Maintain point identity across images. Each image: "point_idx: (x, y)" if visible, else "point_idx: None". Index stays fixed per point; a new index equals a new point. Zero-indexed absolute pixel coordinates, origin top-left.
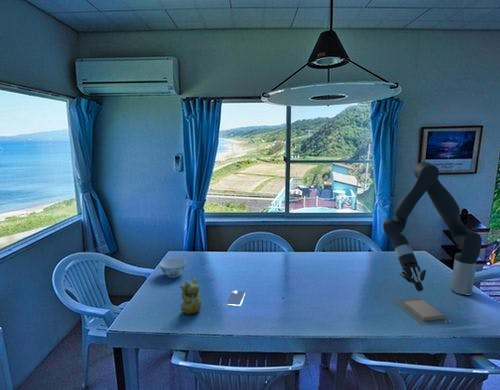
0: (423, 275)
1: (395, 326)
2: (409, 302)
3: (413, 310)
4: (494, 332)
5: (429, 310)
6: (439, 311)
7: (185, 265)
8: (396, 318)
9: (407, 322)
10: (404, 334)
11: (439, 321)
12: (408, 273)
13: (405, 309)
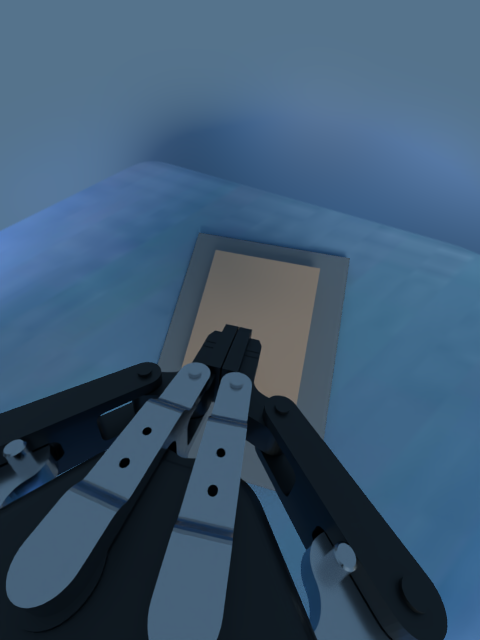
0: (83, 398)
1: (454, 302)
2: (270, 396)
3: (307, 336)
4: (131, 168)
5: (241, 298)
6: (176, 306)
7: None
8: (403, 347)
9: (376, 306)
10: (453, 251)
11: (250, 254)
12: (272, 537)
13: (313, 379)
